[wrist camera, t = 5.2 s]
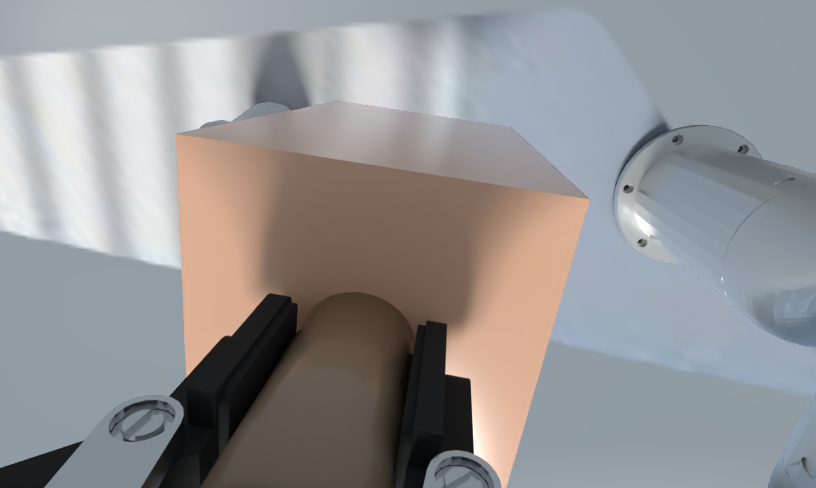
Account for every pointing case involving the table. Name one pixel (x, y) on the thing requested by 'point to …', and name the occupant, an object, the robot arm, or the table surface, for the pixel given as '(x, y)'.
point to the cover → (371, 277)
